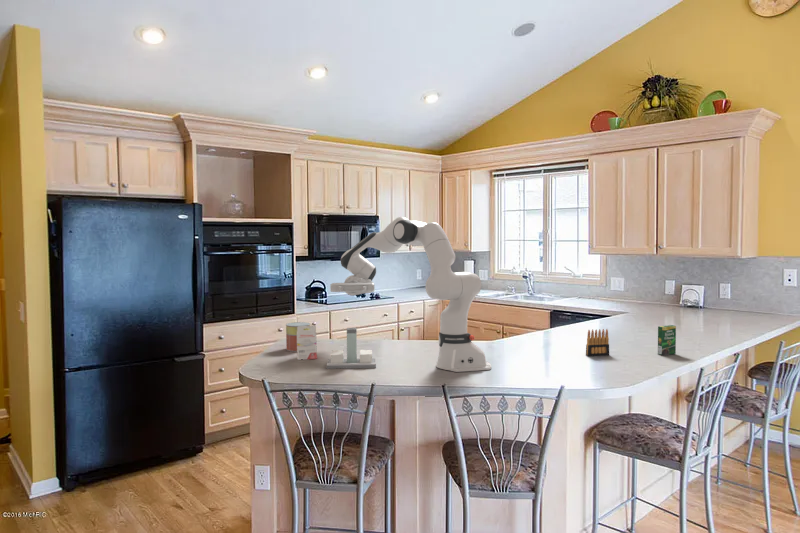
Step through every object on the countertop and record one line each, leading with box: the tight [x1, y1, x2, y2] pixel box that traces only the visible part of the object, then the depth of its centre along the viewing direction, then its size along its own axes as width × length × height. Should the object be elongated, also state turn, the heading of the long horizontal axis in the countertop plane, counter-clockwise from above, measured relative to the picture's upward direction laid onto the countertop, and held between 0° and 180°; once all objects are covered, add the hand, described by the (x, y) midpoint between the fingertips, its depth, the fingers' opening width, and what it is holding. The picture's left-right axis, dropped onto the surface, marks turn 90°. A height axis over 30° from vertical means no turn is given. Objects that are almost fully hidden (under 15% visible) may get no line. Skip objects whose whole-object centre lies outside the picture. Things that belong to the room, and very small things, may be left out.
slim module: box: [346, 327, 358, 363], centre depth 239 cm, size 4×4×14 cm
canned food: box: [285, 321, 311, 353], centre depth 271 cm, size 11×11×12 cm
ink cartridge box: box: [296, 325, 318, 361], centre depth 251 cm, size 9×5×15 cm, turn 101°
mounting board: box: [326, 349, 377, 370], centre depth 239 cm, size 20×12×5 cm, turn 94°
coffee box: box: [657, 324, 677, 356], centre depth 258 cm, size 8×3×13 cm, turn 107°
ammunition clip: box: [585, 328, 610, 357], centre depth 256 cm, size 11×2×12 cm, turn 102°
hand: (352, 289), depth 256 cm, fingers open, 8 cm apart
